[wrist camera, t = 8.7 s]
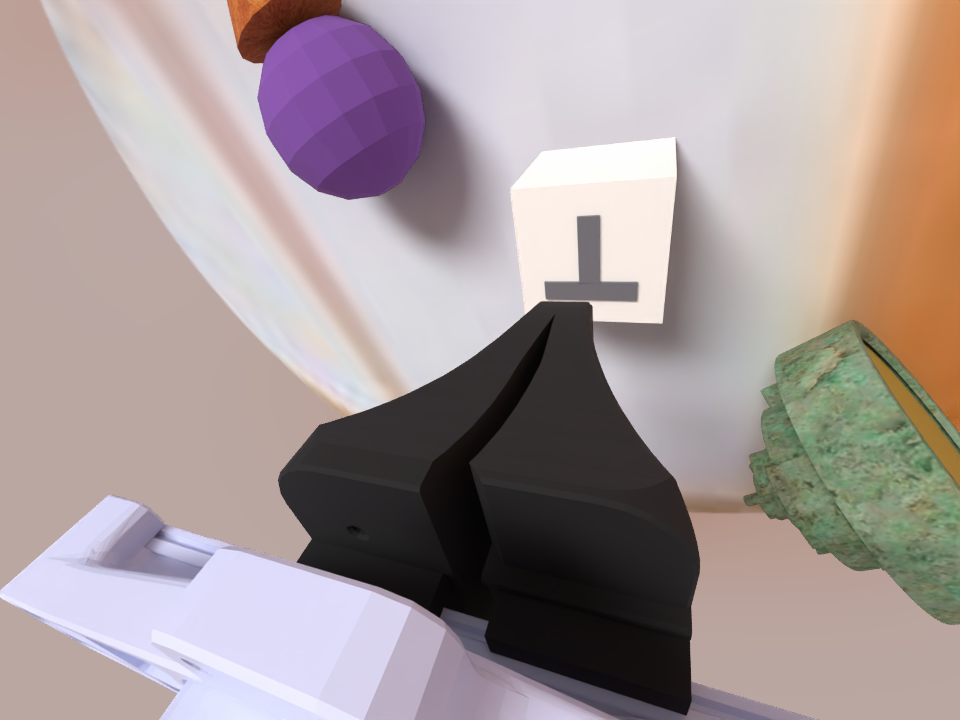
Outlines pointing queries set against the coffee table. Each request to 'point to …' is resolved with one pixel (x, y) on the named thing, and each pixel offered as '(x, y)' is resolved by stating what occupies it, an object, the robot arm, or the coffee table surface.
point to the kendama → (331, 95)
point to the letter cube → (598, 228)
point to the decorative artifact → (864, 464)
